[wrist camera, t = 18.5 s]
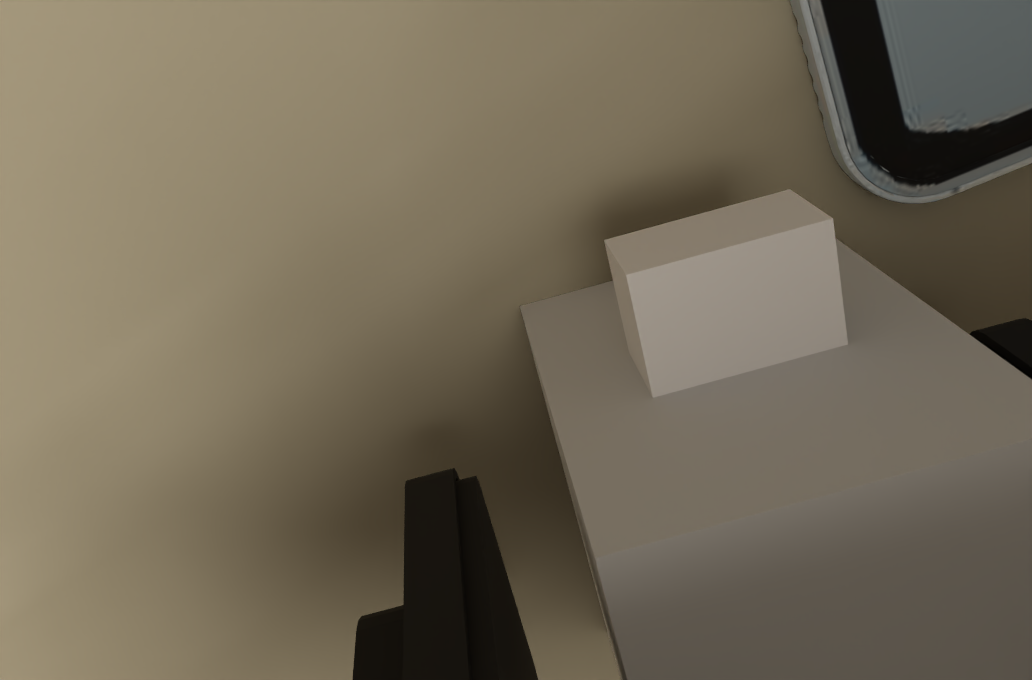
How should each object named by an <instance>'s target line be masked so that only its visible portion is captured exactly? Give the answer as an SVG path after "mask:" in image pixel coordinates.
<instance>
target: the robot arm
mask: <svg viewBox="0 0 1032 680" xmlns="http://www.w3.org/2000/svg"><path fill="white" fill-rule="evenodd" d="M969 335H971V336H972V337H973V338H975V339H976V340H978V341H979V342H980V343H982V344H983V345H985V346H986V347H987V348H989V349H990V350H991V351H993V352H994V353H996V354H997V355H998V356H1000V357H1001V358H1003V359H1004V360H1005V361H1007V362H1008V363H1009V364H1011V365H1012V366H1014V367H1015V368H1016V369H1018V370H1019V371H1021V372H1022V373H1023V374H1025V375H1026V376H1027V377H1029V378H1030V379H1032V321H1031V320H1029V319H1026V318H1023V319H1018V320H1014V321H1010V322H1007V323H1003V324H999V325H995V326H991V327H988V328H984V329H980V330H976V331H972V332H971V333H970V334H969ZM353 680H538V678H537V674H536V670H535V666H534V663H533V659H532V656H531V652H530V649H529V646H528V642H527V639H526V636H525V633H524V629H523V626H522V623H521V619H520V616H519V613H518V609H517V606H516V603H515V600H514V596H513V593H512V590H511V586H510V583H509V580H508V576H507V573H506V570H505V566H504V563H503V560H502V557H501V553H500V550H499V547H498V543H497V540H496V537H495V533H494V530H493V527H492V524H491V520H490V517H489V514H488V510H487V507H486V504H485V500H484V497H483V494H482V490H481V487H480V484H479V481H478V479H477V477H476V476H474V477H470V478H466V479H462V480H459V477H458V475H457V472H456V470H455V469H454V468H453V469H449V470H445V471H441V472H437V473H434V474H430V475H426V476H422V477H418V478H415V479H411V480H407V481H406V482H405V527H404V605H402V606H399V607H395V608H391V609H387V610H383V611H380V612H376V613H372V614H368V615H364V616H362V617H361V618H360V619H359V620H358V625H357V631H356V643H355V656H354V669H353Z"/></svg>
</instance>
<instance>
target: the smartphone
mask: <svg viewBox="0 0 1032 680" xmlns="http://www.w3.org/2000/svg"><path fill="white" fill-rule="evenodd" d="M790 3H791V6H792V10H793V14H794V15H795V17H796V19H797V22H798V26H797V29H798V32H799V34H800V36H801V38H802V40H803V46H802V47H803V51H804V53H805V55H806V56H807V59H808V63H809V64H808V69H809V72H810V74H811V75H812V77H813V81H814V83H813V87H814V91H815V92H816V94H817V96H818V100H819V102H818V106H819V110H820V111H821V112H822V115H823V118H824V120H823V124H824V128H825V132H826V135H827V139H828V142H829V145H830V147H831V150H832V153H833V155H834V157H835V159H836V160H837V162H838V164H839V165H840V167H841V169H842V170H843V171H844V172H845V173H846V174H847V175H848V176H849V177H850V178H851V179H852V180H853V181H855V182H856V183H858V184H859V185H860V186H862V187H863V188H865V189H867V190H868V191H870V192H872V193H873V194H875V195H877V196H880V197H882V198H884V199H887V200H890V201H895V202H899V203H910V204H921V203H928V202H935V201H938V200H941V199H944V198H947V197H950V196H953V195H955V194H958V193H960V192H963V191H965V190H967V189H970V188H972V187H975V186H977V185H980V184H982V183H985V182H987V181H990V180H992V179H994V178H997V177H999V176H1002V175H1004V174H1007V173H1009V172H1012V171H1014V170H1017V169H1019V168H1021V167H1024V166H1026V165H1029V164H1031V163H1032V0H790Z"/></svg>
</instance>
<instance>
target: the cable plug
mask: <svg viewBox="0 0 1032 680" xmlns="http://www.w3.org/2000/svg"><path fill="white" fill-rule="evenodd" d="M604 243H605V247H606V252H607V256H608V261H609V265H610V270H611V274H612V278H613V281H609V282H606V283H602V284H598V285H595V286H591V287H587V288H584V289H580V290H576V291H573V292H569V293H565V294H562V295H558V296H554V297H551V298H547V299H543V300H540V301H536V302H532V303H529V304H525V305H521V306H520V309H521V313H522V317H523V321H524V324H525V328H526V332H527V335H528V339H529V343H530V347H531V350H532V354H533V358H534V361H535V365H536V369H537V373H538V376H539V380H540V384H541V387H542V391H543V395H544V399H545V402H546V406H547V410H548V413H549V417H550V421H551V424H552V428H553V432H554V436H555V439H556V443H557V447H558V450H559V454H560V458H561V462H562V465H563V469H564V473H565V476H566V480H567V484H568V488H569V491H570V495H571V499H572V502H573V506H574V510H575V514H576V517H577V521H578V525H579V528H580V532H581V536H582V540H583V543H584V547H585V551H586V554H587V558H588V562H589V566H590V569H591V573H592V577H593V580H594V584H595V588H596V592H597V595H598V599H599V603H600V606H601V610H602V614H603V618H604V621H605V625H606V629H607V632H608V636H609V639H610V643H611V646H612V650H613V653H614V657H615V660H616V664H617V667H618V671H619V674H620V678H621V680H1032V379H1030V378H1029V377H1027V376H1026V375H1025V374H1023V373H1022V372H1021V371H1019V370H1018V369H1016V368H1015V367H1014V366H1012V365H1011V364H1009V363H1008V362H1007V361H1005V360H1004V359H1003V358H1001V357H1000V356H998V355H997V354H996V353H994V352H993V351H991V350H990V349H989V348H987V347H986V346H985V345H983V344H982V343H980V342H979V341H978V340H976V339H975V338H973V337H972V336H971V335H969V334H968V333H967V332H965V331H964V330H962V329H961V328H960V327H958V326H957V325H955V324H954V323H953V322H951V321H950V320H949V319H947V318H946V317H944V316H943V315H942V314H940V313H939V312H937V311H936V310H935V309H933V308H932V307H931V306H929V305H928V304H926V303H925V302H924V301H922V300H921V299H919V298H918V297H917V296H915V295H914V294H913V293H911V292H910V291H908V290H907V289H906V288H904V287H903V286H901V285H900V284H899V283H897V282H896V281H895V280H893V279H892V278H890V277H889V276H888V275H886V274H885V273H883V272H882V271H881V270H879V269H878V268H877V267H875V266H874V265H872V264H871V263H870V262H868V261H867V260H865V259H864V258H863V257H861V256H860V255H859V254H857V253H856V252H854V251H853V250H852V249H850V248H849V247H847V246H846V245H845V244H843V243H842V242H841V241H839V240H838V239H836V238H835V230H834V222H833V218H832V217H830V216H829V215H827V214H826V213H824V212H823V211H821V210H820V209H819V208H817V207H816V206H814V205H813V204H811V203H810V202H808V201H807V200H805V199H804V198H802V197H801V196H799V195H798V194H796V193H795V192H794V191H792V190H791V189H788V190H785V191H781V192H777V193H774V194H770V195H766V196H763V197H759V198H755V199H752V200H748V201H744V202H741V203H737V204H734V205H730V206H726V207H723V208H719V209H715V210H712V211H708V212H704V213H701V214H697V215H693V216H690V217H686V218H682V219H679V220H675V221H672V222H668V223H664V224H661V225H657V226H653V227H650V228H646V229H642V230H639V231H635V232H631V233H628V234H624V235H620V236H617V237H613V238H609V239H606V240H604Z"/></svg>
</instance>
